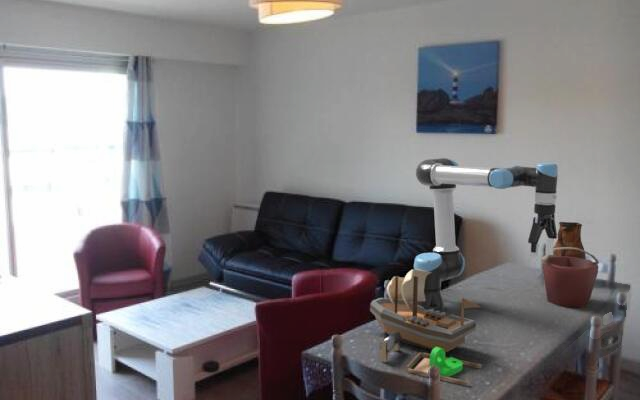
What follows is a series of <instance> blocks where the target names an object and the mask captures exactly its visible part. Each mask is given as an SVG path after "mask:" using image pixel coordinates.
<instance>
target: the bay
mask: <svg viewBox="0 0 640 400" xmlns="http://www.w3.org/2000/svg"><path fill="white" fill-rule="evenodd" d="M430 354H431V353H428V352H421V351H419V353H418V354H416V355H415V356H414V357H413V359H412V360H410V362H408V364H407V365H406V366H405V369H406V371H407V374H409V373H410V374H413V375H417V376H421V377H424V378H426V377H427V378H429V377H428V370H429V365H430ZM422 357H423V359H422V360H421V361H420V362H419V363H418V361H419V360H420V359H421V358H422ZM448 358H449V357H447V356H445V360H446V359H448ZM459 360H460V361H462V362H463V366H465V367H470V368H476V369H480V370H481V369H482V364H481V363H475V362H471V361H466V360H462V359H459ZM417 363H418V364H417ZM416 364H417V365H416ZM415 365H416V366H415ZM414 366H415V367H414ZM413 367H414V369H413ZM439 381H444V382H448V383H453V384H457V385H461V386H466V387H470V383H471V382H470V381H467V380H463V379H457V378H453V377H451V376H450V377H445V376H441V375H440V380H439Z"/></svg>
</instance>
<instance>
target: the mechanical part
mask: <svg viewBox="0 0 640 400" xmlns="http://www.w3.org/2000/svg"><path fill="white" fill-rule="evenodd" d="M429 354H430V358H429V359H430V365H429V367H430V366H432V365H436V366H438V367H439V369H440V375H441V376H445V377H450V378H451V376H454V375H455V374H458V373H460V372H462V371H463V369H464V367H463V366H464V365H463V362H462V361H463V360H462V361H460V360H461V359H458V358H455V357H453V356H451V357H448V359H446V360H445V357H446V352H445V350H444V349H442V348H439V347H435V348H434V349H433V350H432V351H431V352H430V353H429Z"/></svg>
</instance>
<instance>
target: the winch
mask: <svg viewBox="0 0 640 400" xmlns="http://www.w3.org/2000/svg"><path fill="white" fill-rule="evenodd" d="M401 339H402V337H401V334H400V331H396V330H395V331H394V332H393V333H392V334H391V335H389V334H388V336H387V337H385V338H384V340H383V341H381V342H380V343H379V350H380V351H381V352H380V353H381V354H380V355H381V357H380V362H381V363H387V362H388V357H389V356H388V354H389V352H391V351H392V350H393V351H394V352H399V351H400V342H401Z"/></svg>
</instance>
